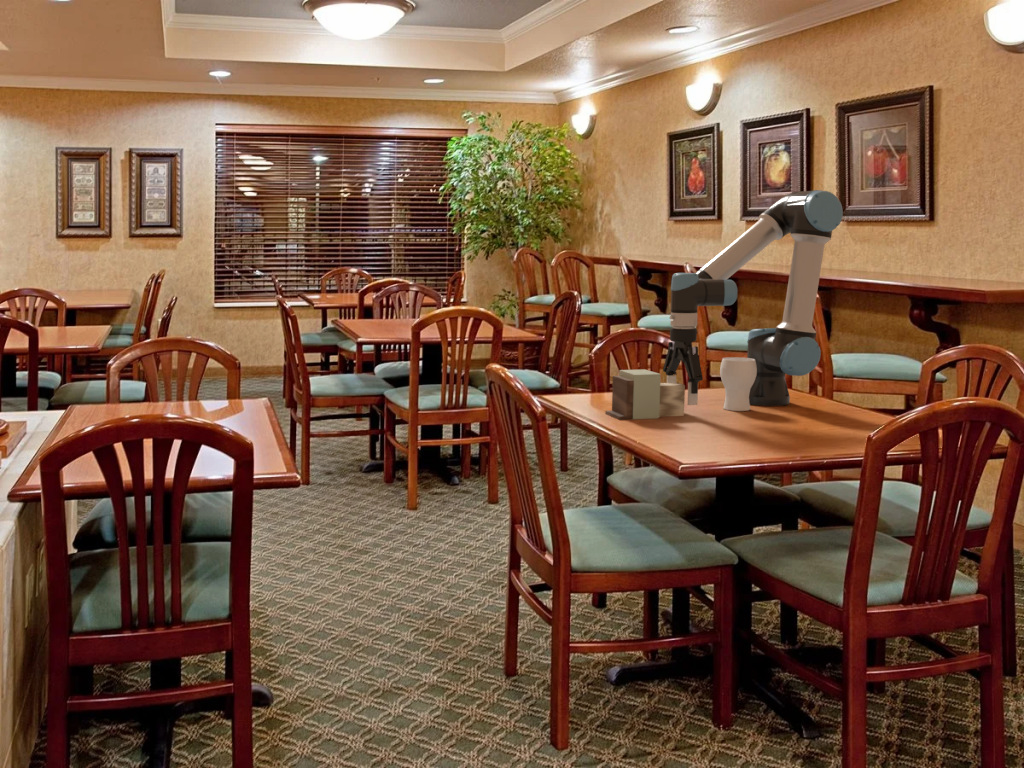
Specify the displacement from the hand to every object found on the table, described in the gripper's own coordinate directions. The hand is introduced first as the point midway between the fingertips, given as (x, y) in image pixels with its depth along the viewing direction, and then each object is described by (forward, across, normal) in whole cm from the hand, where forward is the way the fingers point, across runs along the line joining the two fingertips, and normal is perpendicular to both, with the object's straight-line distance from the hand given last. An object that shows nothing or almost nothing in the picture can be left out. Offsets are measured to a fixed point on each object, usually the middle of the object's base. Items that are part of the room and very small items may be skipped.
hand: (681, 401), depth 306 cm
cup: (+4, -4, +20) cm, 21 cm away
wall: (+4, 0, -18) cm, 19 cm away
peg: (+4, 0, -7) cm, 8 cm away
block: (+4, 0, -14) cm, 14 cm away
